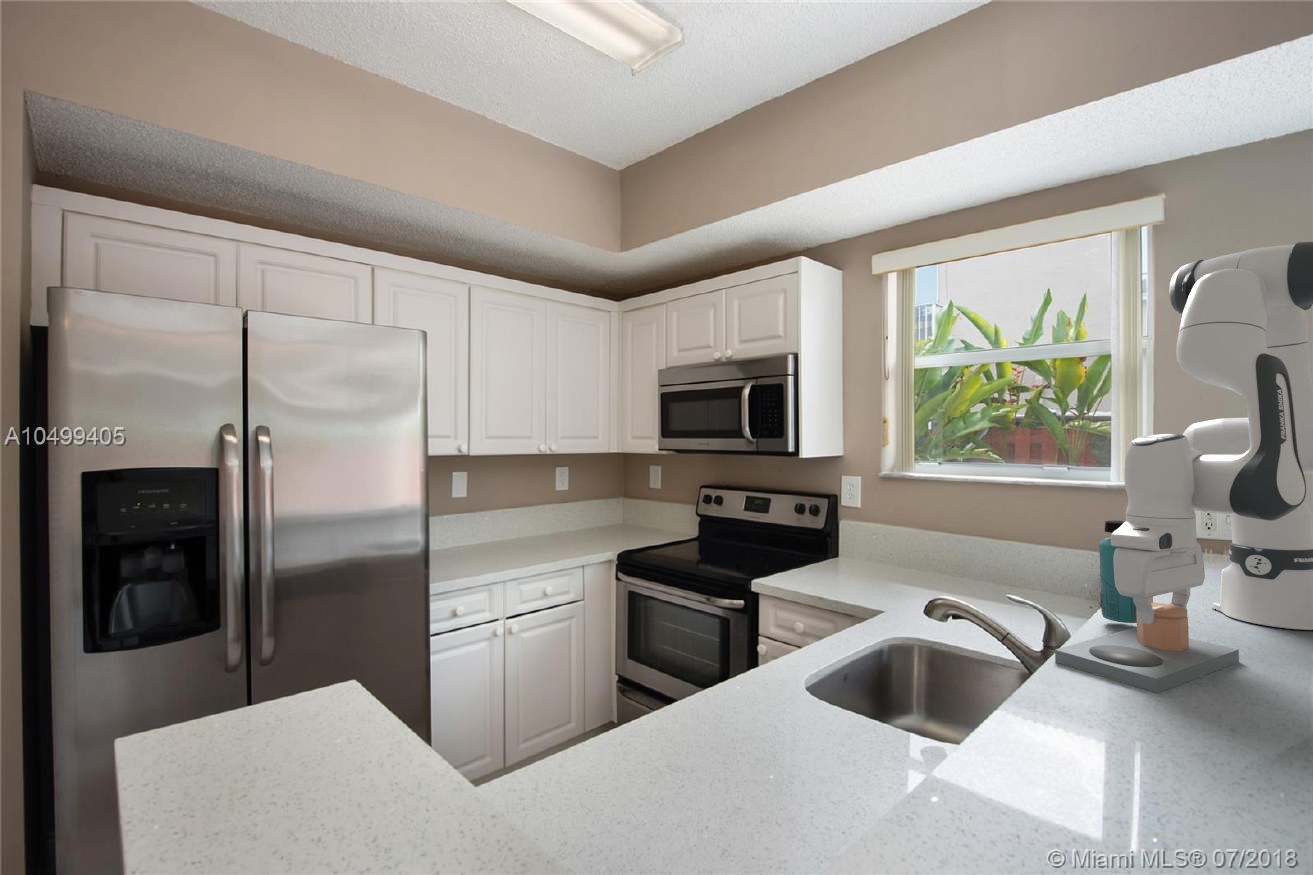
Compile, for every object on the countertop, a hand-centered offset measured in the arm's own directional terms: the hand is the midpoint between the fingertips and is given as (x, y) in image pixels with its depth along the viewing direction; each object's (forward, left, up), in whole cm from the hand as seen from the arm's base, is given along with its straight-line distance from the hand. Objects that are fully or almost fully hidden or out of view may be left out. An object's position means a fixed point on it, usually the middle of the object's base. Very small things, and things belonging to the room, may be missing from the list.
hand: (1163, 619), depth 99 cm
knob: (0, 0, -4) cm, 4 cm away
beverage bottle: (-12, -12, -7) cm, 19 cm away
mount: (+5, 0, -6) cm, 8 cm away
